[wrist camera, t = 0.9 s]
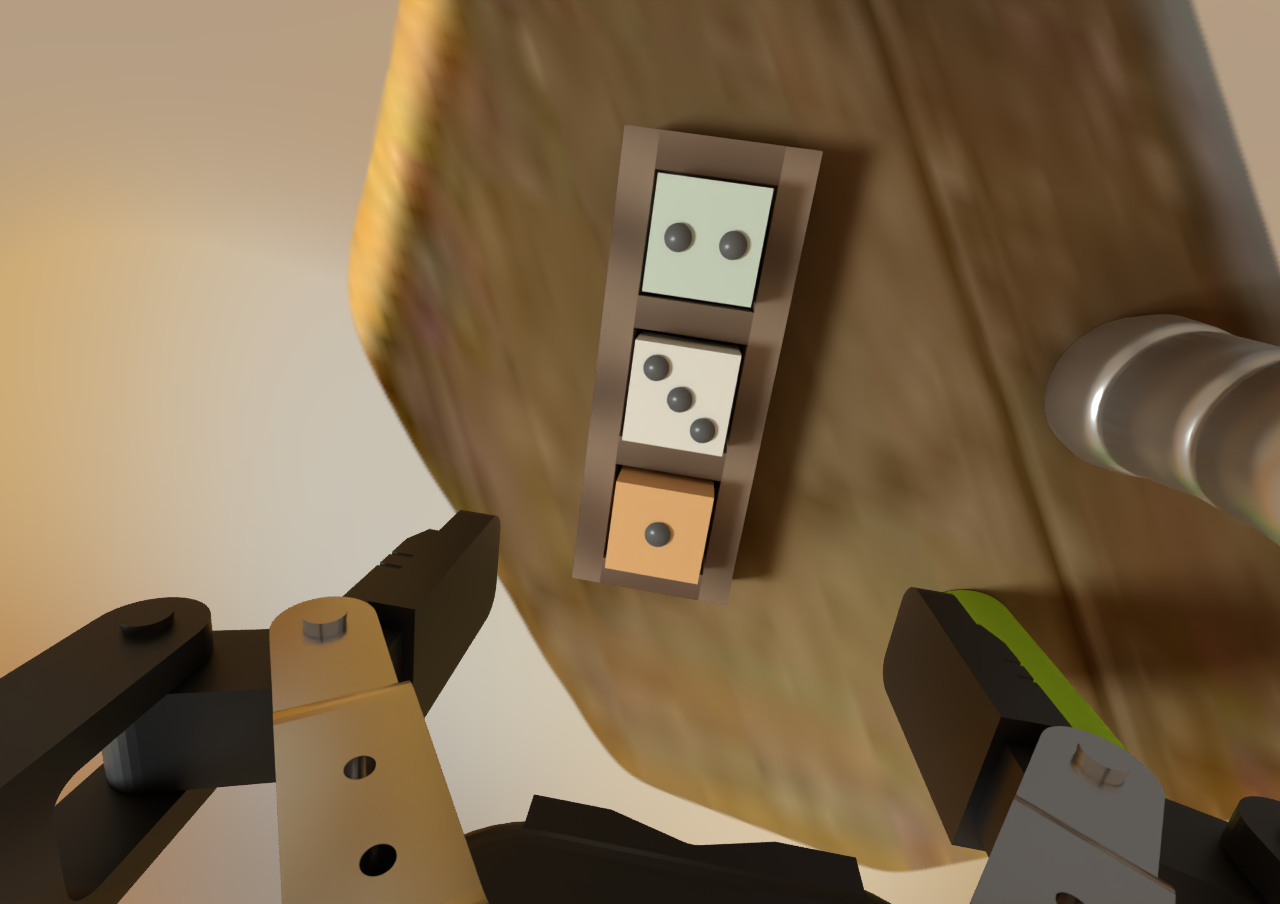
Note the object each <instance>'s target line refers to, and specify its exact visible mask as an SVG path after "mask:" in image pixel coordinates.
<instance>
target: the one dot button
mask: <svg viewBox="0 0 1280 904" xmlns="http://www.w3.org/2000/svg"><path fill="white" fill-rule="evenodd" d="M713 501H714V480H710V479H704V478H698V477H692V476H686V475H680V474H674V473H668V472H662V471H656V470H651V469H645V468H639V467H633V466H627V465H623V467H622V469H621V471H620V474H619V476H618V479H617V481H616V488H615V495H614V503H613V510H612V518H611V525H610V532H609V540H608V547H607V555H606V562H605V568H608V569H614V570H620V571H625V572H631V573H636V574H642V575H648V576H653V577H659V578H664V579H670V580H676V581H681V582H687V583H692V584H698V579H699V574H700V569H701V563H702V558H703V553H704V548H705V543H706V537H707V532H708V527H709V522H710V517H711V511H712V506H713Z"/></svg>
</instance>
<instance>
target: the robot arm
mask: <svg viewBox="0 0 1280 904" xmlns="http://www.w3.org/2000/svg"><path fill="white" fill-rule="evenodd" d="M499 540H500V520H499V517H498V516H494V515H488V514H482V513H476V512H470V511H464V510H460V511H459V512H458V513H457V514H456V515H455V516H454V517H453V518H452V519H451V520H449V521H448V522H447V523H446V524H445V525H444V526H443V527H442V528H441V529H440V530H439V531H438V530H432V529H429V530H426V531H424V532H421V533H419V534H417V535H414V536H412V537H409V538H407V539H406V540H405V541H404V542H402V543H401V544H400V545H399V546H398V547H397V548H396V549H395V550H394V551H393V552H392V555H391V554H389V555H388V556H387V557H386V558H385V559H384V560H383V561H381V562H380V566H379V565H377V566H376V567H375V568H374V569H373V570H371V571H370V572H369V573H368V574H367V575H366V576H365V577H364V578H363V579H362V580H360V581H359V582H358V583H357V584H356V585H355V586H354V587H353V588H351V589H350V590H349V591H348V592H347V593H346V594H345V595H344V596H343V597H324V598H317V599H312V600H309V601H305V602H302V603H299V604H297V605H294V606H292V607H291V608H288V609H287V610H285V611H283V612H282V613H281V614H280V615H278V616H277V617H276V618H275V620H274V621H273V622H272V624H271V626H270V629H260V630H223V631H212V623H211V612H210V610H209V608H208V607H207V606H206V605H205V604H203V603H202V602H199V601H197V600H193V599H189V598H179V597H167V598H157V599H150V600H144V601H140V602H136V603H132V604H128V605H125V606H122V607H120V608H117V609H114V610H112V611H110V612H108V613H106V614H104V615H102V616H100V617H99V618H97V619H95V620H94V621H92V622H90V623H89V624H87V625H86V626H84V627H82V628H81V629H79V630H77V631H76V632H74V633H73V634H71V635H70V636H68V637H66V638H65V639H63V640H61V641H60V642H58V643H57V644H55V645H53V646H52V647H50V648H49V649H47V650H45V651H44V652H42V653H41V654H39V655H37V656H36V657H34V658H32V659H31V660H29V661H28V662H26V663H25V664H23V665H21V666H20V667H18V668H16V669H15V670H13V671H12V672H10V673H8V674H7V675H5V676H4V677H2V678H0V904H117V903H118V902H119V901H120V900H121V899H122V897H123V896H124V895H125V894H126V893H127V892H128V890H129V889H130V888H131V887H132V886H133V885H134V883H135V882H136V881H137V880H138V879H139V877H140V876H141V875H142V874H143V873H144V872H145V871H146V870H147V868H148V867H149V866H150V865H151V864H152V863H153V861H154V860H155V859H156V858H157V857H158V855H159V854H160V853H161V852H162V851H163V849H165V847H166V846H167V845H168V844H169V843H170V842H171V840H172V839H173V838H174V837H175V836H176V835H177V833H178V832H179V831H180V830H181V829H182V828H183V827H184V825H185V824H186V823H187V822H188V821H189V820H190V818H191V817H192V816H193V815H194V814H195V813H196V811H197V810H198V809H199V808H200V807H201V806H202V804H203V803H204V802H205V801H206V800H207V798H208V797H209V796H210V795H211V794H212V793H213V792H214V790H215V789H216V788H217V787H225V786H226V787H227V786H237V785H249V784H260V783H273V782H276V790H277V810H278V811H277V812H278V831H279V854H280V874H281V893H282V894H281V895H282V904H891V903H889V902H887V901H885V900H883V899H882V898H880V897H878V896H876V895H874V894H872V893H870V892H868V891H866V890H864V888H863V884H862V880H861V876H860V872H859V868H858V864H857V860H856V858H855V857H850V856H845V855H840V854H835V853H830V852H824V851H819V850H814V849H809V848H804V847H799V846H794V845H789V844H784V843H779V842H760V843H738V844H717V845H692V844H688V843H685V842H683V841H680V840H678V839H676V838H674V837H671V836H669V835H667V834H665V833H662V832H660V831H658V830H656V829H654V828H651V827H649V826H647V825H645V824H642V823H640V822H638V821H635V820H633V819H631V818H629V817H627V816H624V815H622V814H620V813H618V812H615V811H613V810H610V809H606V808H600V807H595V806H590V805H585V804H580V803H575V802H570V801H565V800H560V799H555V798H550V797H544V796H539V795H534V796H533V799H532V802H531V806H530V809H529V812H528V815H527V818H526V821H524V822H511V823H506V824H499V825H493V826H489V827H486V828H482V829H478V830H475V831H472V832H469V833H467V834H464V833H463V830H462V828H461V824H460V821H459V819H458V816H457V813H456V810H455V807H454V804H453V801H452V798H451V795H450V792H449V789H448V787H447V784H446V781H445V778H444V775H443V772H442V769H441V766H440V763H439V760H438V758H437V754H436V752H435V749H434V746H433V743H432V740H431V737H430V734H429V731H428V729H427V725H426V722H425V719H424V718H425V716H426V715H427V713H428V712H429V710H430V708H431V707H432V705H433V703H434V702H435V700H436V699H437V697H438V695H439V694H440V692H441V691H442V689H443V688H444V686H445V685H446V683H447V681H448V680H449V678H450V677H451V675H452V673H453V672H454V670H455V668H456V667H457V665H458V664H459V662H460V661H461V659H462V657H463V656H464V654H465V653H466V651H467V649H468V647H469V646H470V645H471V643H472V641H473V640H474V638H475V636H476V635H477V633H478V632H479V630H480V629H481V627H482V625H483V624H484V622H485V621H486V619H487V617H488V615H489V613H490V610H491V608H492V604H493V601H494V597H495V591H496V582H497V568H498V554H499ZM1020 663H1021V662H1020V661H1019V660H1018V659H1017V657H1016V656H1015V655H1014V654H1013V652H1012V651H1011V650H1010V649H1009V647H1008V646H1007V645H1006V644H1005V643H1004V642H1003V641H1002V640H1000V639H999V638H998V637H996V636H995V635H994V634H992V633H991V632H990V631H988V630H987V629H986V628H984V627H983V626H982V625H979V624H976V623H975V621H974V620H973V619H972V617H971V616H970V615H969V613H968V612H967V611H966V609H965V608H964V607H963V606H962V604H961V603H960V602H959V600H958V599H957V598H956V597H955V596H954V595H953V594H949V593H943V592H938V591H932V590H926V589H920V588H914V587H911V588H909V589H908V590H907V591H906V592H905V594H904V596H903V599H902V601H901V605H900V608H899V611H898V615H897V618H896V621H895V625H894V628H893V631H892V635H891V638H890V641H889V644H888V648H887V651H886V654H885V658H884V665H883V680H884V686H885V690H886V693H887V695H888V697H889V700H890V702H891V704H892V707H893V709H894V711H895V714H896V716H897V718H898V721H899V723H900V725H901V728H902V730H903V732H904V735H905V737H906V739H907V742H908V744H909V746H910V749H911V751H912V753H913V756H914V758H915V760H916V763H917V765H918V767H919V770H920V772H921V774H922V777H923V779H924V781H925V784H926V786H927V788H928V791H929V793H930V795H931V798H932V800H933V802H934V805H935V807H936V809H937V812H938V814H939V816H940V819H941V821H942V823H943V826H944V828H945V830H946V833H947V835H948V837H949V840H950V842H951V844H952V845H956V846H961V847H966V848H971V849H977V850H982V851H986V853H987V855H988V857H989V859H988V861H987V864H986V866H985V869H984V871H983V873H982V875H981V878H980V880H979V883H978V885H977V887H976V890H975V892H974V894H973V897H972V899H971V901H970V904H1280V801H1277V800H1273V799H1269V798H1264V797H1256V796H1250V797H1245V798H1243V799H1241V800H1240V802H1239V804H1238V806H1237V807H1236V809H1235V811H1234V813H1233V814H1232V816H1231V818H1230V820H1229V822H1226V821H1224V820H1221V819H1218V818H1216V817H1213V816H1211V815H1208V814H1205V813H1203V812H1200V811H1197V810H1195V809H1192V808H1190V807H1187V806H1184V805H1182V804H1179V803H1176V802H1174V801H1171V800H1169V799H1166V798H1165V793H1164V790H1163V788H1162V785H1161V784H1160V782H1159V781H1158V779H1157V778H1156V777H1155V776H1154V775H1153V773H1152V772H1151V771H1150V770H1149V769H1148V768H1147V767H1146V766H1145V765H1144V764H1142V763H1141V762H1140V761H1139V760H1137V759H1136V758H1135V757H1134V756H1132V755H1131V754H1129V753H1128V752H1127V751H1125V750H1123V749H1122V748H1120V747H1118V746H1117V745H1115V744H1113V743H1111V742H1109V741H1108V740H1106V739H1103V738H1101V737H1099V736H1097V735H1094V734H1092V733H1089V732H1087V731H1083V730H1080V729H1076V728H1073V727H1072V726H1071V725H1070V723H1069V722H1068V721H1067V720H1066V718H1065V717H1064V716H1063V715H1062V713H1061V712H1060V711H1059V710H1058V708H1057V707H1056V706H1055V705H1054V703H1053V702H1052V701H1051V700H1050V698H1049V697H1048V696H1047V695H1046V693H1045V692H1044V691H1043V690H1042V688H1041V687H1040V686H1039V685H1038V683H1035V682H1033V679H1034V678H1033V677H1032V676H1031V675H1030V674H1029V672H1028V671H1027V670H1026V669H1025V667H1024V666H1021V665H1020ZM100 751H102V755H103V761H104V763H103V764H102V765H101V766H100V767H99V768H97V769H96V770H95V771H94V772H93V773H92V774H91V775H90V776H88V777H87V778H86V779H85V780H84V781H83V782H82V783H81V784H79V785H78V786H77V787H76V788H75V789H74V790H73V791H72V792H70V793H69V794H68V795H67V796H66V797H65V798H64V799H62V800H61V801H60V802H59V803H58V804H57V805H56V806H55V804H56V801H57V799H58V797H59V795H60V793H61V791H62V790H63V788H64V786H65V785H66V784H67V783H68V781H69V780H70V779H71V778H72V776H73V775H74V774H75V773H76V772H77V771H78V770H80V768H82V767H83V766H84V765H85V764H87V763H88V762H89V761H90V760H91V759H92V758H93V757H95V756H96V755H97V754H98V753H99V752H100ZM54 806H55V807H54Z"/></svg>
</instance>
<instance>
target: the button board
mask: <svg viewBox="0 0 1280 904" xmlns="http://www.w3.org/2000/svg"><path fill="white" fill-rule="evenodd" d="M822 153H823V151H818V150H810V149H803V148H795V147H788V146H780V145H773V144H765V143H758V142H750V141H743V140H736V139H728V138H721V137H713V136H706V135H698V134H691V133H683V132H676V131H668V130H661V129H653V128H646V127H639V126H631V125H625V126H624V134H623V143H622V152H621V160H620V169H619V177H618V186H617V195H616V203H615V212H614V221H613V229H612V238H611V246H610V255H609V264H608V272H607V281H606V289H605V298H604V307H603V315H602V324H601V333H600V341H599V350H598V358H597V367H596V376H595V384H594V393H593V402H592V410H591V419H590V427H589V436H588V445H587V453H586V462H585V470H584V479H583V488H582V496H581V505H580V514H579V522H578V531H577V539H576V548H575V557H574V565H573V574H572V578H577V579H583V580H588V581H594V582H600V583H605V584H611V585H616V586H622V587H627V588H633V589H638V590H644V591H650V592H655V593H661V594H666V595H672V596H677V597H683V598H688V599H694V600H700V601H705V602H711V603H716V604H722V605H727V600H728V595H729V591H730V586H731V581H732V577H733V572H734V567H735V563H736V558H737V553H738V548H739V544H740V539H741V534H742V530H743V525H744V520H745V516H746V511H747V506H748V501H749V497H750V492H751V487H752V483H753V478H754V473H755V468H756V464H757V459H758V454H759V450H760V445H761V440H762V436H763V431H764V426H765V421H766V417H767V412H768V407H769V403H770V398H771V393H772V389H773V384H774V379H775V374H776V370H777V365H778V360H779V356H780V351H781V346H782V342H783V337H784V332H785V327H786V323H787V318H788V313H789V309H790V304H791V299H792V295H793V290H794V285H795V280H796V276H797V271H798V266H799V262H800V257H801V252H802V248H803V243H804V238H805V233H806V229H807V224H808V219H809V215H810V210H811V205H812V201H813V196H814V191H815V186H816V182H817V177H818V172H819V168H820V163H821V158H822ZM658 173H665V174H672V175H679V176H686V177H694V178H701V179H708V180H715V181H723V182H730V183H737V184H744V185H751V186H759V187H766V188H773V195H772V200H771V205H770V210H769V215H768V221H767V226H766V231H765V236H764V241H763V247H762V252H761V257H760V262H759V267H758V272H757V278H756V283H755V288H754V293H753V298H752V304H751V307H750V308H746V307H739V306H732V305H726V304H719V303H712V302H706V301H699V300H692V299H686V298H679V297H673V296H666V295H659V294H653V293H646V292H644V291H642V288H643V280H644V273H645V266H646V258H647V251H648V243H649V236H650V228H651V221H652V214H653V206H654V199H655V191H656V184H657V177H658ZM639 328H641V329H647V330H654V331H660V332H667V333H673V334H680V335H686V336H693V337H699V338H706V339H712V340H719V341H725V342H732V343H738V344H743V349H742V354H741V361H740V366H739V371H738V376H737V382H736V387H735V392H734V397H733V402H732V408H731V413H730V418H729V423H728V428H727V434H726V439H725V444H724V449H723V454H722V457H721V456H715V455H709V454H703V453H697V452H691V451H685V450H679V449H673V448H667V447H661V446H655V445H649V444H643V443H637V442H630V441H624V440H622V436H623V429H624V421H625V414H626V406H627V399H628V392H629V384H630V377H631V369H632V362H633V354H634V347H635V340H636V338H637V337H638V331H639ZM620 464H621V465H627V466H633V467H639V468H645V469H651V470H656V471H662V472H668V473H674V474H680V475H686V476H692V477H698V478H704V479H710V480H716V481H717V484H716V489H715V494H714V501H713V506H712V511H711V517H710V522H709V527H708V532H707V537H706V543H705V548H704V553H703V558H702V563H701V569H700V574H699V579H698V584H692V583H687V582H681V581H676V580H670V579H664V578H659V577H653V576H648V575H642V574H636V573H631V572H625V571H620V570H614V569H608V568H605V562H606V555H607V547H608V540H609V532H610V525H611V518H612V510H613V503H614V495H615V488H616V481H617V479H618V476H619V471H620Z"/></svg>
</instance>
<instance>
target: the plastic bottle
mask: <svg viewBox="0 0 1280 904" xmlns="http://www.w3.org/2000/svg"><path fill="white" fill-rule="evenodd" d="M1044 405H1045V415H1046V418H1047V421H1048V424H1049V426H1050V428H1051V430H1052V431H1053V433H1054V434H1055V436H1056V437H1057V438H1058V439H1059V440H1060V441H1061V442H1062V443H1063V444H1064V445H1065V446H1066V447H1068V448H1069V449H1070V450H1071V451H1072V452H1073V453H1074V454H1075V455H1076V456H1077V457H1079V458H1080V459H1082V460H1084V461H1085V462H1087V463H1089V464H1092V465H1095V466H1098V467H1101V468H1104V469H1107V470H1110V471H1114V472H1117V473H1120V474H1124V475H1129V476H1135V477H1141V478H1146V479H1149V480H1152V481H1155V482H1157V483H1160V484H1163V485H1166V486H1168V487H1171V488H1174V489H1177V490H1180V491H1182V492H1185V493H1188V494H1191V495H1193V496H1196V497H1198V498H1200V499H1202V500H1203V501H1205V502H1207V503H1209V504H1211V505H1212V506H1214V507H1216V508H1218V509H1220V510H1222V511H1224V512H1225V513H1227V514H1229V515H1230V516H1232V517H1234V518H1236V519H1238V520H1239V521H1241V522H1243V523H1245V524H1247V525H1248V526H1250V527H1252V528H1254V529H1256V530H1258V531H1259V532H1261V533H1262V534H1263V535H1265V536H1266V537H1268V538H1269V539H1271V540H1272V541H1273V542H1275V543H1276V544H1278V545H1279V546H1280V347H1279V346H1275V345H1271V344H1267V343H1263V342H1259V341H1255V340H1251V339H1247V338H1243V337H1239V336H1234V335H1232V334H1230V333H1228V332H1226V331H1224V330H1222V329H1220V328H1217V327H1214V326H1211V325H1208V324H1205V323H1202V322H1199V321H1196V320H1192V319H1189V318H1186V317H1182V316H1178V315H1169V314H1156V315H1145V316H1136V317H1128V318H1122V319H1118V320H1114V321H1111V322H1108V323H1105V324H1103V325H1101V326H1099V327H1096V328H1094V329H1092V330H1091V331H1089V332H1088V333H1086V334H1085V335H1083V336H1082V337H1080V338H1079V339H1078V340H1077V341H1076V342H1075V343H1073V344H1072V345H1071V346H1070V347H1069V348H1068V349H1067V350H1066V352H1065V353H1064V354H1063V355H1062V356H1061V358H1060V359H1059V360H1058V362H1057V364H1056V365H1055V367H1054V369H1053V371H1052V372H1051V374H1050V377H1049V380H1048V383H1047V386H1046V391H1045V398H1044Z"/></svg>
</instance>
